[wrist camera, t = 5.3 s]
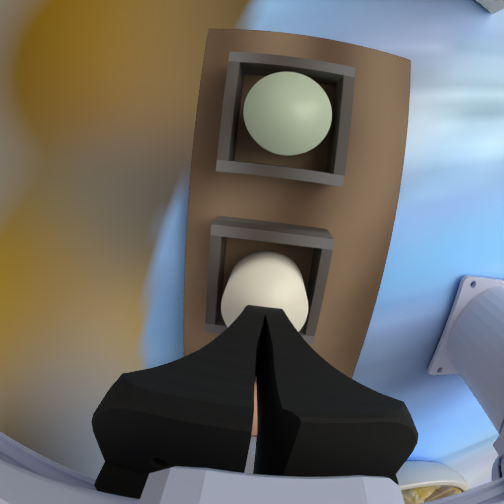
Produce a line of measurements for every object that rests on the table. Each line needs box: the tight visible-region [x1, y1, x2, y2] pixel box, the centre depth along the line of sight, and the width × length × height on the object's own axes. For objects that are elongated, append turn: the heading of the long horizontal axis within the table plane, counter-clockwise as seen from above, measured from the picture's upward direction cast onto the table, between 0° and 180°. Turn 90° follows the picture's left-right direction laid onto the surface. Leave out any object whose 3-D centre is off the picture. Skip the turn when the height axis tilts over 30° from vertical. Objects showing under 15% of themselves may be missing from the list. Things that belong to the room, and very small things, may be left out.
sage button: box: [243, 72, 332, 156], centre depth 13 cm, size 4×4×2 cm
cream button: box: [221, 250, 308, 332], centre depth 14 cm, size 4×4×2 cm
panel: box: [184, 29, 411, 437], centre depth 16 cm, size 11×26×3 cm, turn 174°
